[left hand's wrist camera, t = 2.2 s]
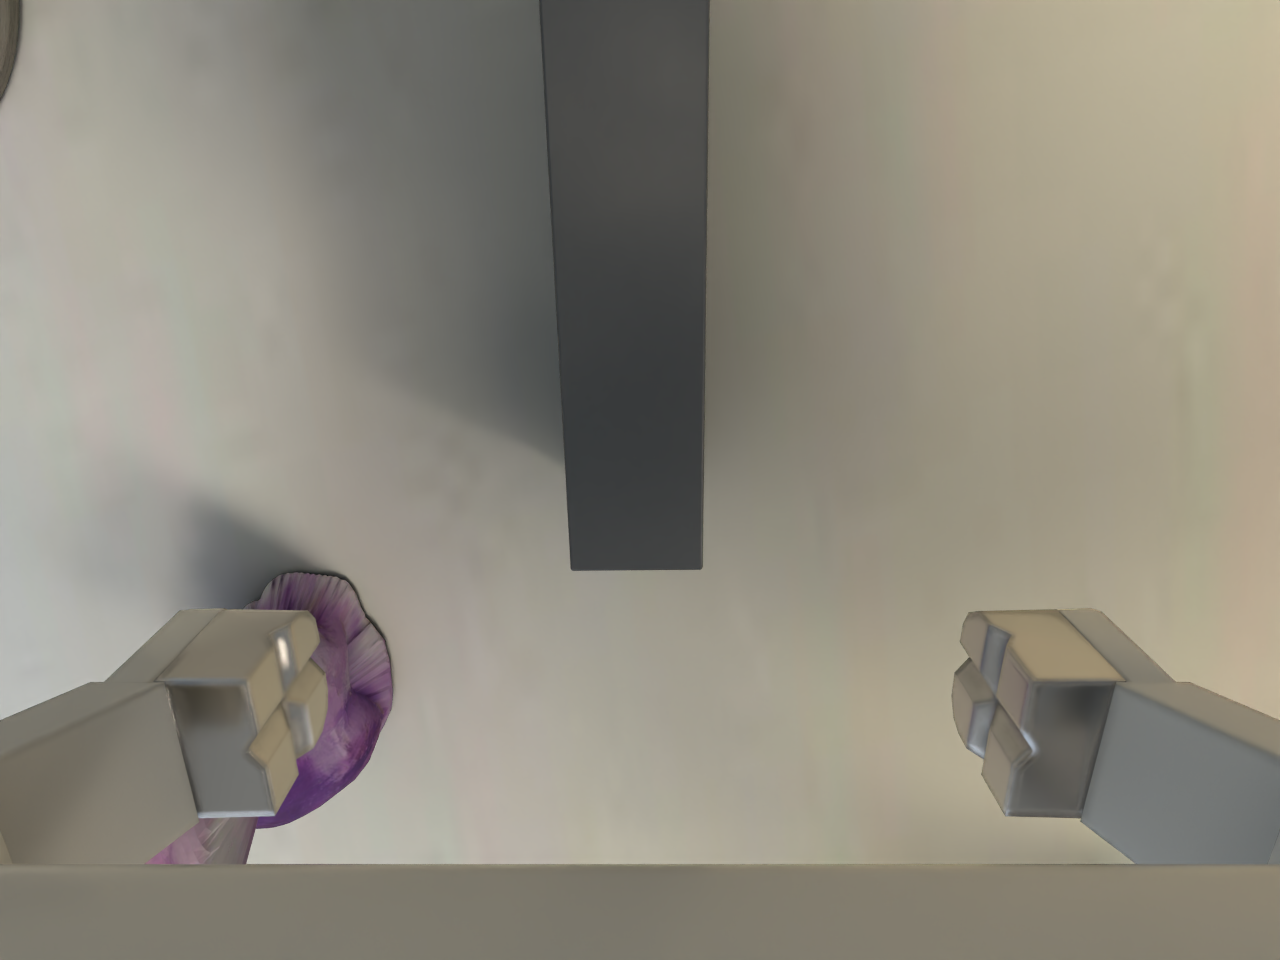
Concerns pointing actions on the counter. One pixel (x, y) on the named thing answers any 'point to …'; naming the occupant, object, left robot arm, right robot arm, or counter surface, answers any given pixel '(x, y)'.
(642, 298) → the post
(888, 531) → the counter surface
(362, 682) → the figurine
